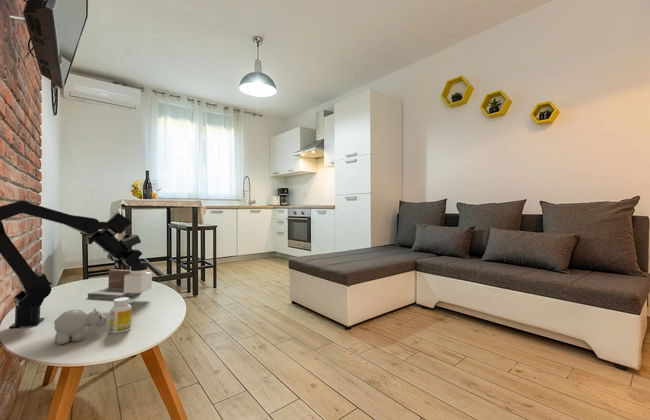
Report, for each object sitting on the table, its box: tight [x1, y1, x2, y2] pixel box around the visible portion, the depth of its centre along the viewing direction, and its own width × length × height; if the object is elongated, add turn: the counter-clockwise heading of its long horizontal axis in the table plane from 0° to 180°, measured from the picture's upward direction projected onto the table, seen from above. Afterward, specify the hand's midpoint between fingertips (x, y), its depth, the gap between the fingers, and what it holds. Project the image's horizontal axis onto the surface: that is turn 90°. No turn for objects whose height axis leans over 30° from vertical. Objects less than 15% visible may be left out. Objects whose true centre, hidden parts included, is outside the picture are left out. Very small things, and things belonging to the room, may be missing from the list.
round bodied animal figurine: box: [53, 308, 109, 345], centre depth 85 cm, size 7×12×8 cm, turn 136°
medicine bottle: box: [124, 260, 153, 294], centre depth 120 cm, size 7×7×12 cm
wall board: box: [87, 268, 140, 301], centre depth 127 cm, size 12×15×10 cm
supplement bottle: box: [109, 297, 132, 334], centre depth 91 cm, size 5×5×10 cm
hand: (139, 268), depth 121 cm, fingers closed on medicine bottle, 6 cm apart
